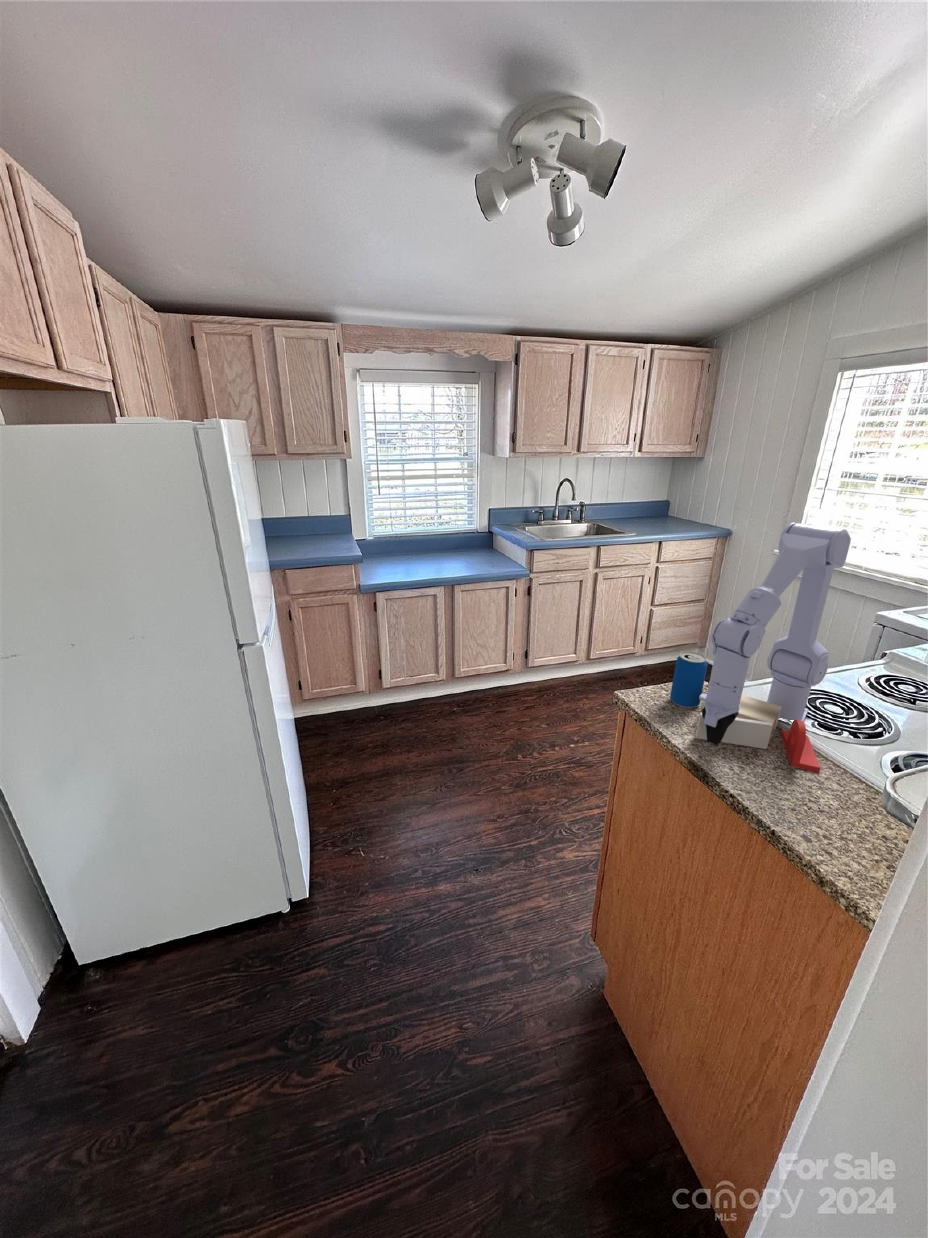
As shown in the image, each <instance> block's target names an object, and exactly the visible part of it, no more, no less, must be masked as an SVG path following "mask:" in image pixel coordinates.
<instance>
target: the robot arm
mask: <svg viewBox="0 0 928 1238" xmlns="http://www.w3.org/2000/svg"><path fill="white" fill-rule="evenodd" d="M851 539H852V537H851V536H850V534H849V532H848V530H847V529H844V528H832V527H825V526H819V525H811V524H810V525H809V524H804V523H799V522H791V523H789V524H788V525H787V526H785V528H784V529H783V530H782V532H781V535H780V537H779V542H778V557H776V560H775V562H774V563H773V565H772V566H771V568H770V569H769V572H767V575H766V577H765V578H764V579H763V582H762V584H760V586H757V587H753V588H751V589H749V591H748V592H747V593H746V594H745V596H744V598H743V599H742V600H741V602H740V603H739V605H738V606H737V607H736V609H734V611H733V613H732V614H731V615H730V616H729V617H728V618H726V619H722V620H721V619H720V621H718V623H717V624H716V626H715V627H714V629H713V633H711V643H712V655H713V656H714V659H713V661H712V668H711V672H710V678H709V684H708V688H707V693H703V692H702V694H701V695H700V697H699V699H700V701H702V702H703V701H704V702H705V707H704V708H703V709H702V716H703V718H704V724H706V733H707V741H706V742H708V743H710V744H713V745H715V746H719V745H720V743H722V742H721V740H722V739H723V737H724V735H725V732H726V730H727V728H728V726H730V725H731V724H732V723H733V721H734V720H735V718H736V717H737V715H738V713H739V712H738V711H739V709H740V700H741V696H742V695H743V691H744V686H745V681H746V679H747V678H746V677H747V673H748V668H749V665H750V660H751V657H752V656H753V655H754V654H755V653H756V652H757V651H758V649H759V648H760V646H761V643H762V640H763V638H764V636H765V634H766V627H767V626H768V624H769V622H770V621H771V620H772V618H773V617H774V616H775V614H776V613H777V611H778V610H779V609H780V608H781V606H782V602H781V601H782V600H781V599H780V596H781V595H782V594H783V593H784V592H785V590H786V589H788V587H789V586H790V585H791V584H792V583H793V582H794V581H795V579H796V578H797V577H798V576H799V575H800V574H801V572H802V574H801V579H800V583H799V586H798V592H797V596H796V600H795V605H794V609H793V612H792V613H793V614H792V618H791V621H790V626H789V630H788V635H786V636H783V637H781V638H779V639H778V638H777V640H776V641H775V642H773V645H772V649H771V651H770V652H769V655H768V657H767V660H766V665H767V668H768V670H769V671H771V672H770V676H772V681H771V684H770V689H769V692H768V696H767V700H766V702H768V703H771V704H774V705H778V706H781V707H782V708H781V711H780V715H779V718H783V719H787V720H800V721H804V722H805V719H806V716H807V715H808V712H809V709H808V708H807V704H808V699H809V696H810V693H811V690H812V687H815V686H817V685H819V684H820V683H822V681H823V680H824V678H825V677H826V675H827V672H828V668H829V664H828V659H829V651H828V649H826V648H825V647H824V646H823V645H822V643H820V642H819V641H818V640H817V637H818V632H819V628H820V624H821V621H822V617H823V613H824V609H825V606H826V601H827V598H828V597H827V596H828V593H829V589H830V585H831V581H832V579H833V578H832V577H833V573H834V571H835V569H840V568H843V567H844V566H845V563H846V561H847V557H848V553H849V549H850V545H851V541H852V540H851Z"/></svg>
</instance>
